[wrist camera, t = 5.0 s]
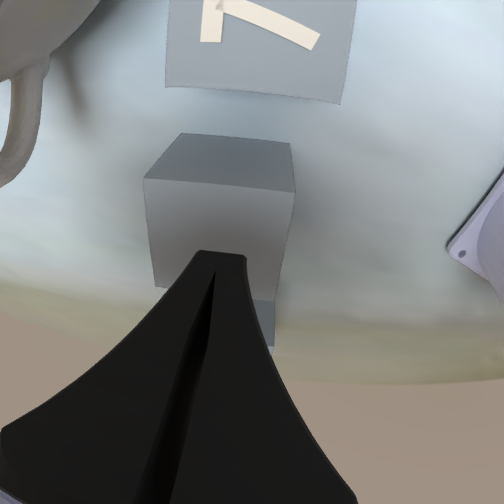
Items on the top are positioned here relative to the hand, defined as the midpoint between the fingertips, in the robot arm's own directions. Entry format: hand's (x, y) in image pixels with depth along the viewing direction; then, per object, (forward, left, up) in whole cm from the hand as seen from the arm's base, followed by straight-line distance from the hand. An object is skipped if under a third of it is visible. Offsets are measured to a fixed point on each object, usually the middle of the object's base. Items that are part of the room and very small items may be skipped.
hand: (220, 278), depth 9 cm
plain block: (0, 0, -6) cm, 6 cm away
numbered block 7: (+2, -7, -6) cm, 9 cm away
